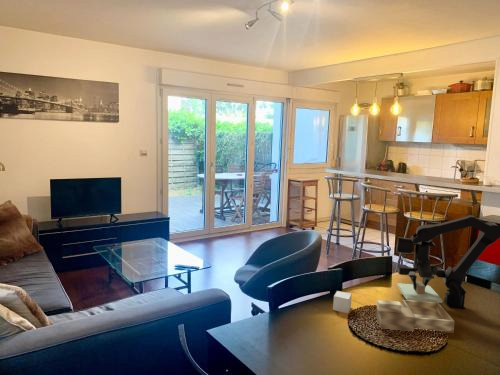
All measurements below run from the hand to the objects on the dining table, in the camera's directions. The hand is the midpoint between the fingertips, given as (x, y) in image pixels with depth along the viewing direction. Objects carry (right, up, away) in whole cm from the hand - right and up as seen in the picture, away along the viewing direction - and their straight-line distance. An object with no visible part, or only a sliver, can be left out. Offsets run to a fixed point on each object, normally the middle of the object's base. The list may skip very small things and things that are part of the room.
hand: (418, 289), depth 164 cm
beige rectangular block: (-22, -1, -23) cm, 32 cm away
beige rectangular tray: (-12, -7, -19) cm, 23 cm away
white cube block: (-36, -5, -10) cm, 38 cm away
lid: (0, -3, 0) cm, 2 cm away
